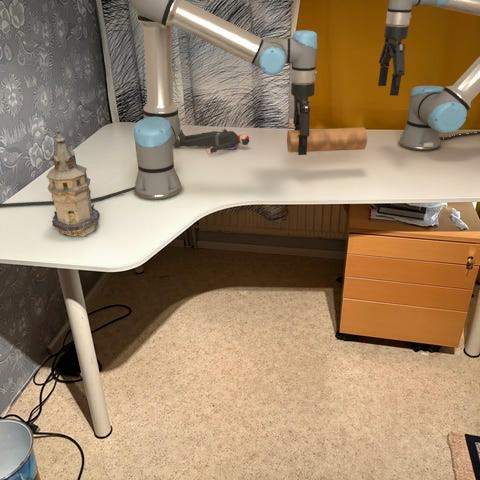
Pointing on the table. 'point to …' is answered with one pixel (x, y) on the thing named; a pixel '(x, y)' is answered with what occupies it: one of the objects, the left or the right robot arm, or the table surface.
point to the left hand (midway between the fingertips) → (300, 150)
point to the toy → (212, 140)
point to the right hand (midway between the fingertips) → (387, 90)
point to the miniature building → (70, 193)
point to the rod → (329, 139)
